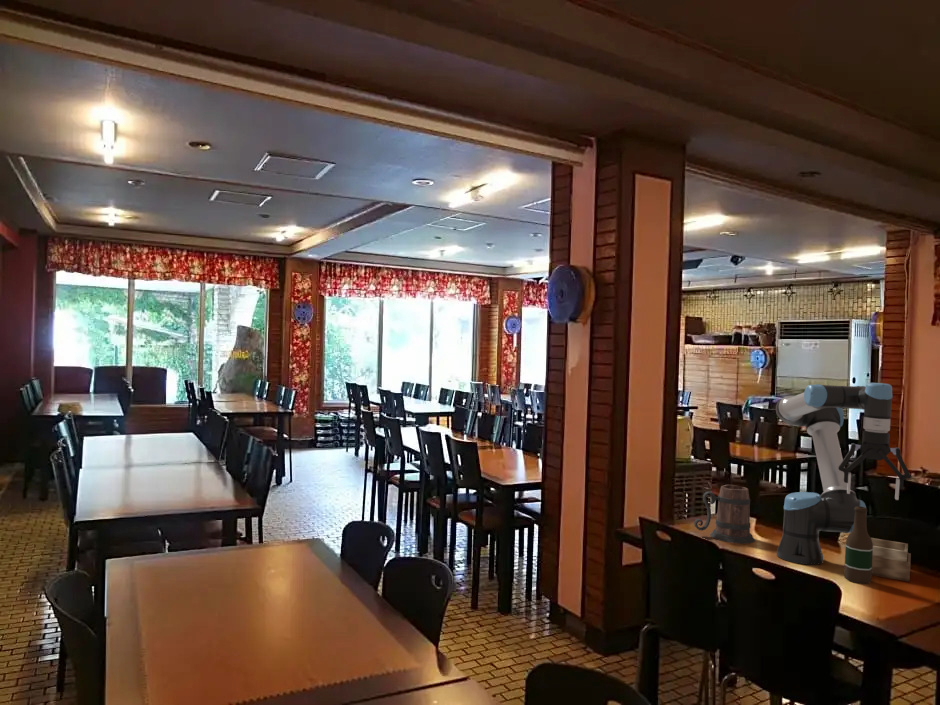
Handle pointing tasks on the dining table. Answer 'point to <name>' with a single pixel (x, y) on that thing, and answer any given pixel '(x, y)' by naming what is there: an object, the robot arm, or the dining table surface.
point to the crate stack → (891, 559)
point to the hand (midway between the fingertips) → (872, 496)
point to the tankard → (730, 515)
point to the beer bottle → (859, 550)
